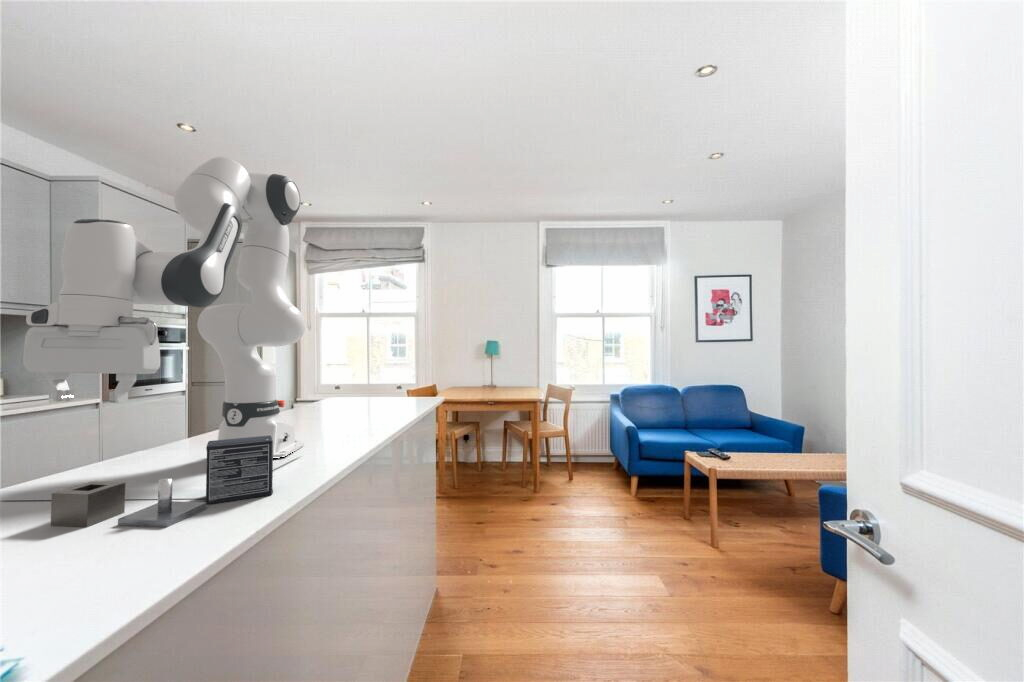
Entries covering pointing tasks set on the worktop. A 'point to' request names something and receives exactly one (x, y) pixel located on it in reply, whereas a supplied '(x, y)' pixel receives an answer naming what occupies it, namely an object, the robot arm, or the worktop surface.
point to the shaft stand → (163, 509)
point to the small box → (239, 469)
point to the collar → (87, 504)
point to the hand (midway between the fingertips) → (90, 401)
